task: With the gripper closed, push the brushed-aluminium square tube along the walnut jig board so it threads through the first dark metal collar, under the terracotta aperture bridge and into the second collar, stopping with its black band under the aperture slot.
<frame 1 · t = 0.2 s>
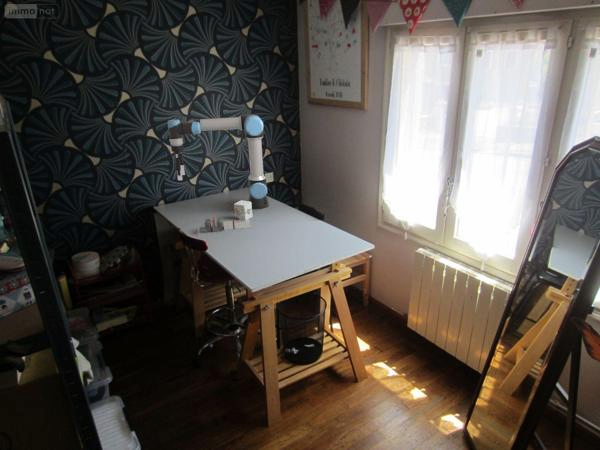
hand: (181, 177, 270), 28 cm above the table, fingers open, 13 cm apart
ink box: (244, 219, 274), on the table
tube: (237, 224, 256), point 3 cm above the table, slide at 0.0 cm
jig: (226, 230, 257), on the table
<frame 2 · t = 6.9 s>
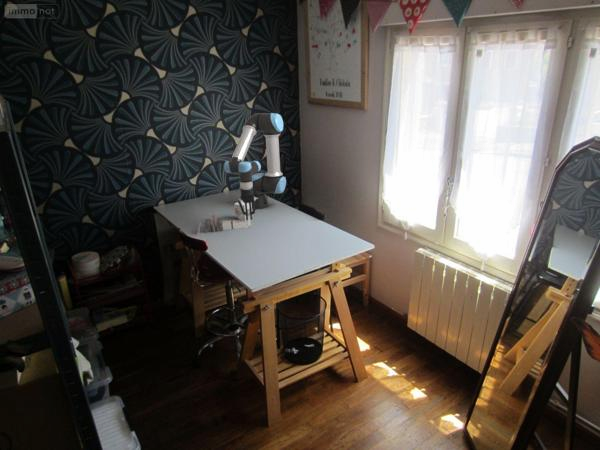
hand: (249, 224, 257), 2 cm above the table, fingers closed
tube: (235, 224, 256), point 3 cm above the table, slide at 1.0 cm, touching gripper
everything else where it was.
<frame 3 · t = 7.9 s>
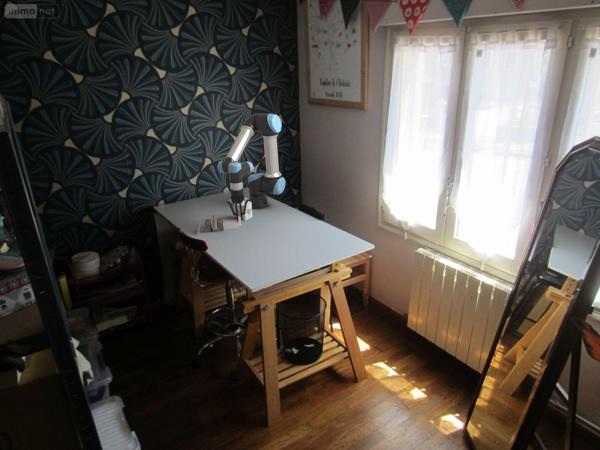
hand: (240, 225, 257), 2 cm above the table, fingers closed
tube: (225, 225, 255), point 3 cm above the table, slide at 6.9 cm, touching gripper
everything else where it was.
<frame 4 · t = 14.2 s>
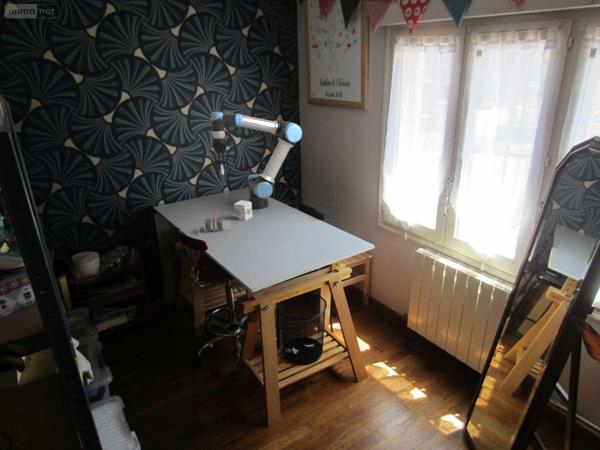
hand: (222, 174, 269), 29 cm above the table, fingers closed
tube: (217, 226, 255), point 3 cm above the table, slide at 12.0 cm
everything else where it was.
at the end: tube slide at 12.0 cm; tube 0.2 cm from the target spot, point 3.3 cm above the table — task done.
